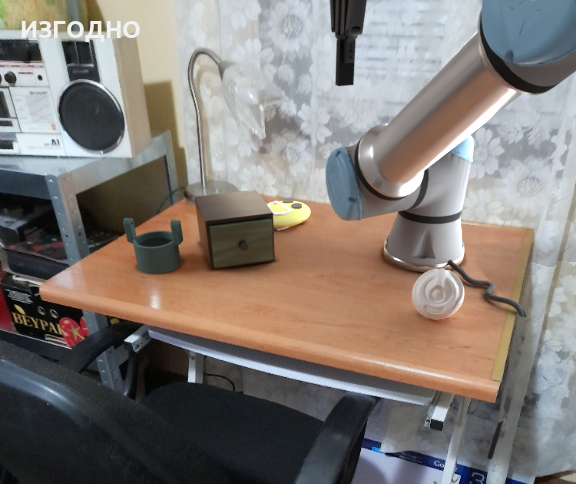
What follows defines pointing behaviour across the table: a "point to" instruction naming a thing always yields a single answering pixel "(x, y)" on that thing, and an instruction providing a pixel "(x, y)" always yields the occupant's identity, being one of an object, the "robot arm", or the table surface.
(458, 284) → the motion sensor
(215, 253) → the case drawer
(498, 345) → the table surface
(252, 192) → the case
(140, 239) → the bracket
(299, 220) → the emoji
